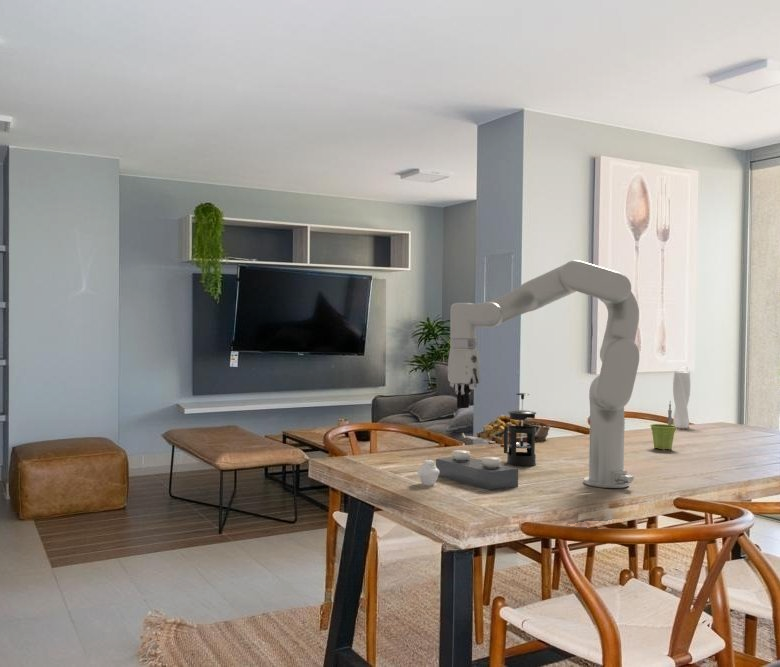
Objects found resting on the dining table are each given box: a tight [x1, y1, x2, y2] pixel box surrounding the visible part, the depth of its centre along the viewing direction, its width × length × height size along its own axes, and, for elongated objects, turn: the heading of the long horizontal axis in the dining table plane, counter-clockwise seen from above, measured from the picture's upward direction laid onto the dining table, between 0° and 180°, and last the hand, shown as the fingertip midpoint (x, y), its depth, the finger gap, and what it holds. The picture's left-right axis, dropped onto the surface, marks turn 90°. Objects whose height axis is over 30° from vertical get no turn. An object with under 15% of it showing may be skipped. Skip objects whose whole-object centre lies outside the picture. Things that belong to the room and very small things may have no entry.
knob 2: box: [481, 456, 502, 469], centre depth 215 cm, size 5×5×6 cm
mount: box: [435, 456, 519, 492], centre depth 220 cm, size 24×10×5 cm, turn 35°
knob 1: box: [451, 449, 471, 462], centre depth 226 cm, size 5×5×6 cm
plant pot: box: [649, 423, 677, 450], centre depth 286 cm, size 9×9×9 cm
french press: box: [503, 392, 537, 468], centre depth 249 cm, size 12×9×23 cm
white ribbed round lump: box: [417, 459, 440, 487], centre depth 214 cm, size 6×6×7 cm
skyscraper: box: [667, 366, 691, 429], centre depth 346 cm, size 8×8×28 cm
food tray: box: [461, 414, 551, 448], centre depth 301 cm, size 35×26×11 cm
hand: (462, 407), depth 225 cm, fingers closed
